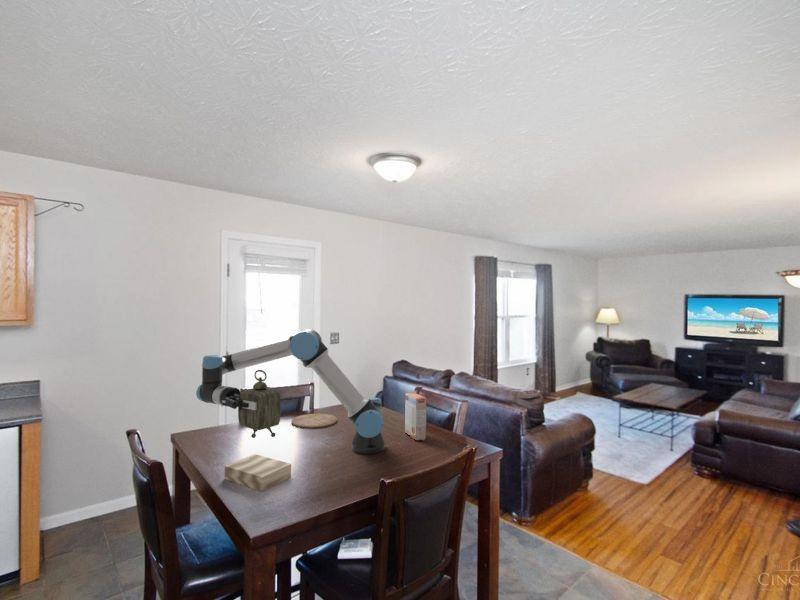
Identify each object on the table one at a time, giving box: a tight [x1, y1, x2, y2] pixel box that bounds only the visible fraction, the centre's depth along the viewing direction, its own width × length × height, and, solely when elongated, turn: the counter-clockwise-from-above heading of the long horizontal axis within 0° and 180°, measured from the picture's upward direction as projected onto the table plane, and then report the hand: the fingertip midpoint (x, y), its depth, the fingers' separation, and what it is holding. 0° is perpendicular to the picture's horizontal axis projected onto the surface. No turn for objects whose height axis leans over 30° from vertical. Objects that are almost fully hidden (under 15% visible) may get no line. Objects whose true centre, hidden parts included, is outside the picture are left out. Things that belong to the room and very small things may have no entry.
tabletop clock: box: [237, 369, 282, 439], centre depth 151 cm, size 14×9×25 cm, turn 56°
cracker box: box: [404, 392, 427, 441], centre depth 201 cm, size 14×6×21 cm, turn 22°
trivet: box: [291, 413, 338, 429], centre depth 225 cm, size 25×25×2 cm
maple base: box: [223, 453, 292, 492], centre depth 150 cm, size 20×14×5 cm
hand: (266, 403), depth 149 cm, fingers closed on tabletop clock, 10 cm apart
